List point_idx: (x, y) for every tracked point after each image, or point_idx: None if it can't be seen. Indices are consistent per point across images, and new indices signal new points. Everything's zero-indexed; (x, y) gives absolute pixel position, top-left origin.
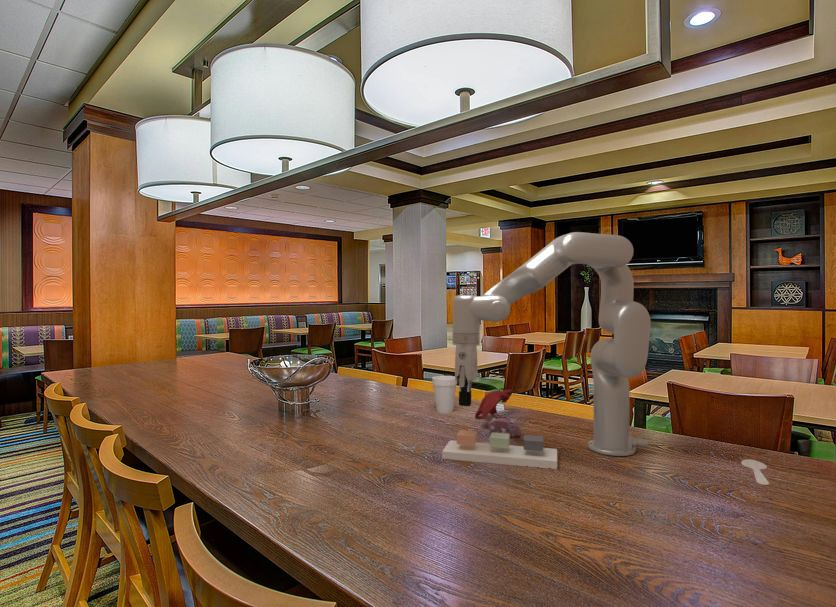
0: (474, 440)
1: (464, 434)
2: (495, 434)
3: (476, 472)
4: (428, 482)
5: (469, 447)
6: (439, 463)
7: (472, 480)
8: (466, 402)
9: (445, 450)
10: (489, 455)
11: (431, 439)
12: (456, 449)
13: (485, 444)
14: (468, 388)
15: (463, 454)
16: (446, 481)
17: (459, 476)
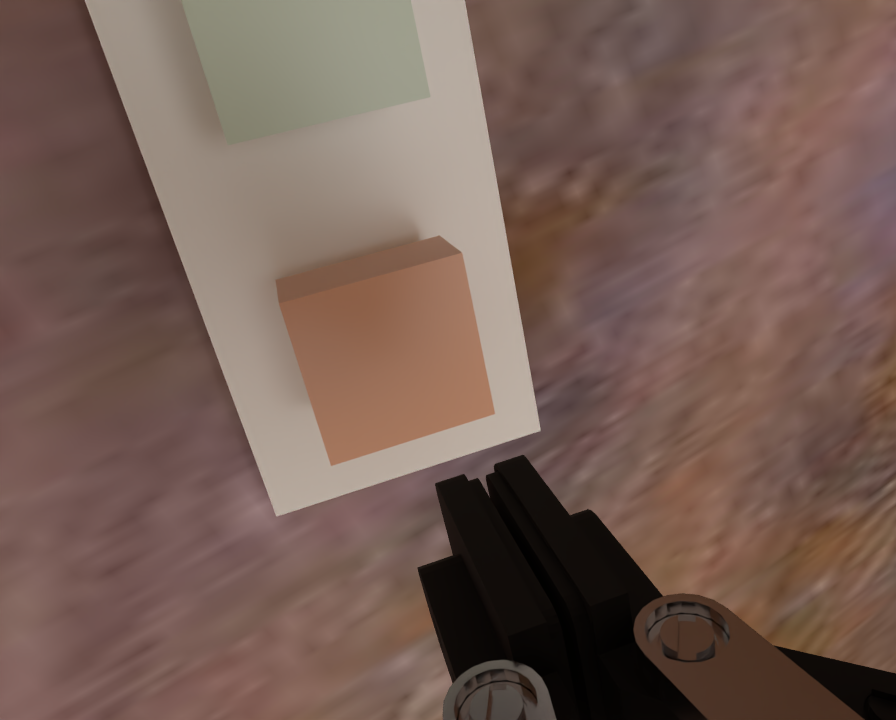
0: (450, 246)
1: (446, 363)
2: (284, 72)
3: (663, 91)
4: (872, 285)
5: None
6: (602, 380)
7: (792, 62)
8: (593, 512)
9: (513, 422)
10: (475, 65)
11: (185, 677)
12: None
13: (207, 214)
14: (766, 650)
15: (512, 280)
16: (840, 204)
17: (756, 168)
